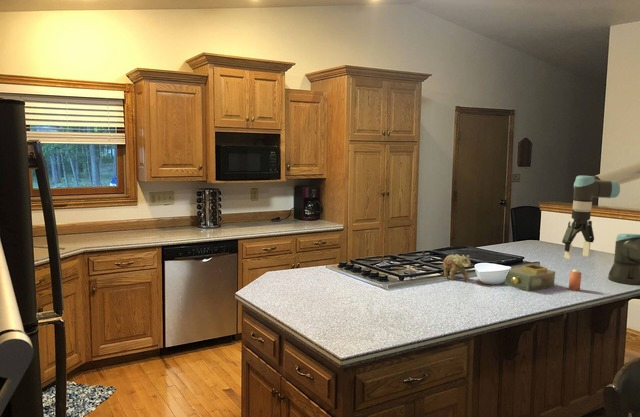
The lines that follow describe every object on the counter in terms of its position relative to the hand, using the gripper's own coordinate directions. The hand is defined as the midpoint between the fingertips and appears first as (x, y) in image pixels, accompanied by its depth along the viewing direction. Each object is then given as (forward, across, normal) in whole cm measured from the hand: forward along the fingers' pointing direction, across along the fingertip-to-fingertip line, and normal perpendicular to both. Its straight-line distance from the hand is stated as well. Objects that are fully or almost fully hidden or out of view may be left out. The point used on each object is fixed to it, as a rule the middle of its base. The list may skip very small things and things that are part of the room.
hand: (576, 257), depth 239 cm
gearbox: (+15, +14, -14) cm, 24 cm away
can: (+15, 0, 0) cm, 15 cm away
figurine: (+16, +36, -38) cm, 54 cm away
